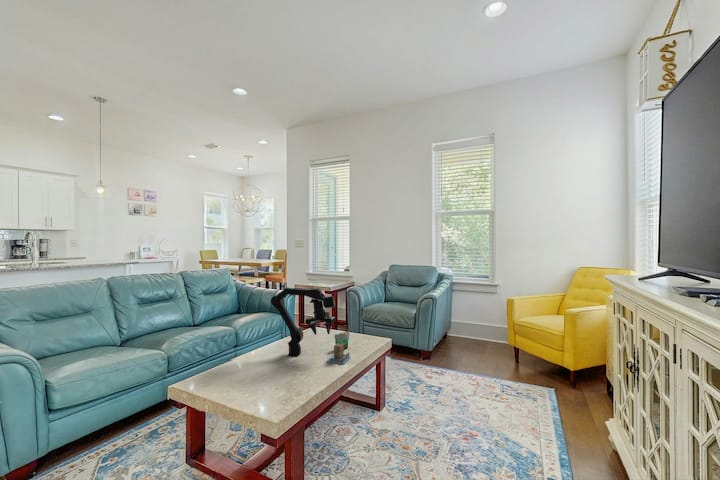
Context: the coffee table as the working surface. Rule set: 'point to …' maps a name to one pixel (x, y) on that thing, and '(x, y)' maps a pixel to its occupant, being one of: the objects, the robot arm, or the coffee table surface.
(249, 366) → the coffee table surface
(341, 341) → the food container
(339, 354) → the walnut block
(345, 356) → the cradle
